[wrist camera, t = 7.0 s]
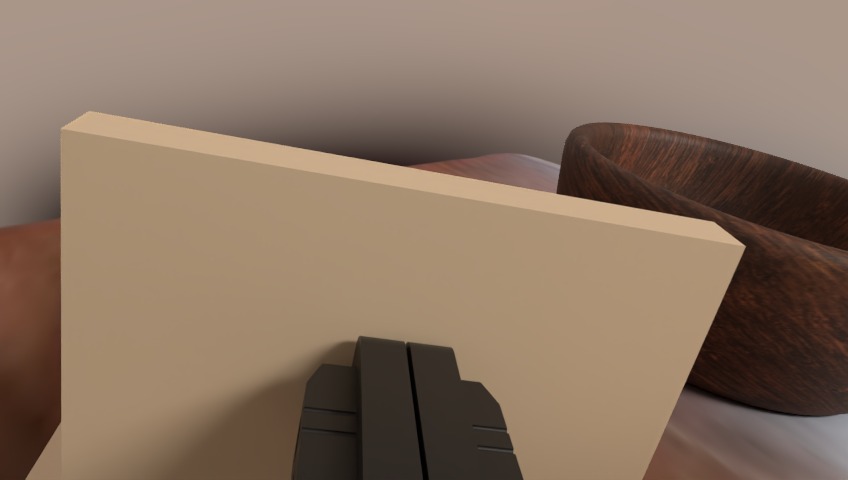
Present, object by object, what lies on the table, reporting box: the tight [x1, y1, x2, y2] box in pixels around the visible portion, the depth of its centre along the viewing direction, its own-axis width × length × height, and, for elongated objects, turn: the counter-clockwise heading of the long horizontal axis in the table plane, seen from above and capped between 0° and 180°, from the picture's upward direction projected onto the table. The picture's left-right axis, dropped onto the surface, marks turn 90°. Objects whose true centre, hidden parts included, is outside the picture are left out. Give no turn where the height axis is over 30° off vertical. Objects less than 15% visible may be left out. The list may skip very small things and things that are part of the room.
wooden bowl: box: [557, 123, 848, 416], centre depth 42 cm, size 25×25×10 cm
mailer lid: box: [25, 111, 746, 480], centre depth 20 cm, size 19×13×9 cm
